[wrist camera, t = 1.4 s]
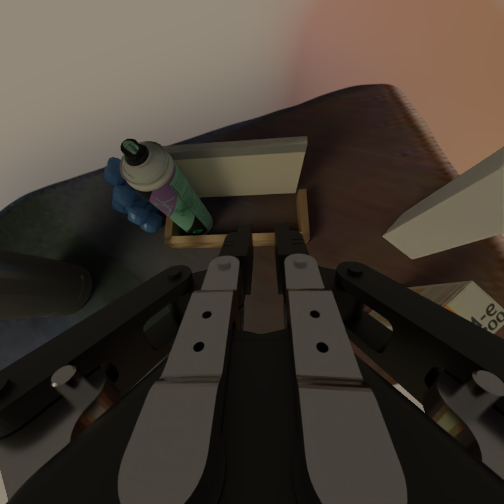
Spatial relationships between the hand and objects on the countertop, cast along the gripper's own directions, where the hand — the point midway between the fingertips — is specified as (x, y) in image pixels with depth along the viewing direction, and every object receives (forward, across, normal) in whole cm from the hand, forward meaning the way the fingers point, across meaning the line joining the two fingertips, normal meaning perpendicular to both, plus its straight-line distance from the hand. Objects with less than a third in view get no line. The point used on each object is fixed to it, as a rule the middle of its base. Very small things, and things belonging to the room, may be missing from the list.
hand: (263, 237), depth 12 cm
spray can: (+25, +12, +10) cm, 29 cm away
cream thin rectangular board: (+27, +5, +5) cm, 28 cm away
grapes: (+26, +22, +8) cm, 35 cm away
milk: (+22, -24, +12) cm, 35 cm away
